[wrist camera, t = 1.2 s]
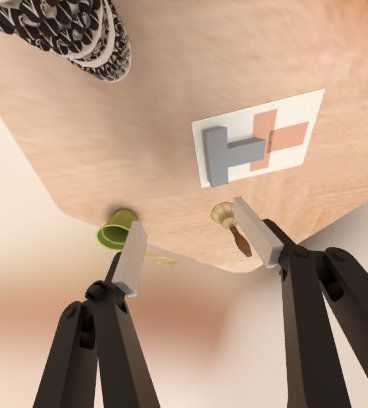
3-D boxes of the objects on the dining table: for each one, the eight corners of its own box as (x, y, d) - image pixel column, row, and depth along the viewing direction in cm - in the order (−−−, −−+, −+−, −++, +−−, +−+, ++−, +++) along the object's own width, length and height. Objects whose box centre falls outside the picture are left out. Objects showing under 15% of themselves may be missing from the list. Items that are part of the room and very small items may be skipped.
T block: (201, 130, 29) (206, 132, 25) (256, 116, 28) (269, 116, 25) (207, 179, 36) (211, 187, 32) (251, 169, 35) (261, 175, 31)
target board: (191, 122, 28) (191, 122, 28) (324, 88, 27) (325, 88, 27) (201, 187, 37) (201, 188, 37) (301, 164, 36) (302, 164, 36)
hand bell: (226, 197, 40) (255, 237, 26) (241, 211, 43) (272, 253, 30) (205, 214, 42) (222, 258, 29) (221, 226, 46) (242, 270, 33)
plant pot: (123, 232, 43) (114, 255, 36) (101, 212, 38) (86, 234, 31) (147, 221, 42) (143, 243, 35) (128, 199, 37) (119, 219, 30)
